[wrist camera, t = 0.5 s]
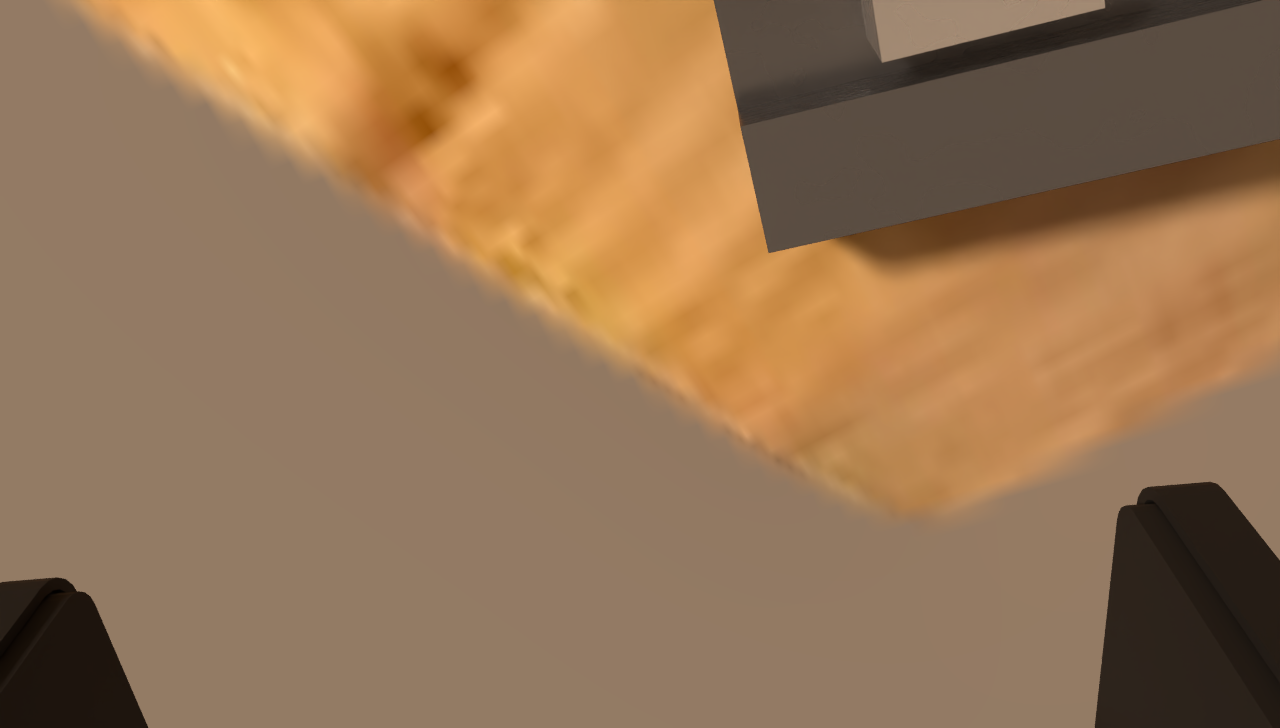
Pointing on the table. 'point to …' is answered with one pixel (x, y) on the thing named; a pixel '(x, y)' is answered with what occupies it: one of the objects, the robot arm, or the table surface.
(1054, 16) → the tan square block
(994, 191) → the slotted ledge
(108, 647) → the robot arm
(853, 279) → the table surface
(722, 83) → the table surface
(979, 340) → the table surface
